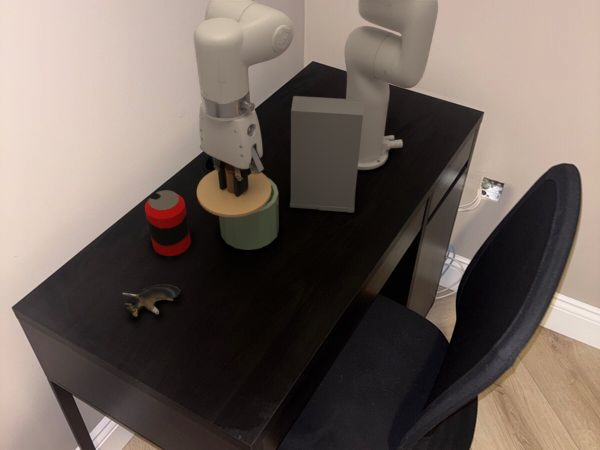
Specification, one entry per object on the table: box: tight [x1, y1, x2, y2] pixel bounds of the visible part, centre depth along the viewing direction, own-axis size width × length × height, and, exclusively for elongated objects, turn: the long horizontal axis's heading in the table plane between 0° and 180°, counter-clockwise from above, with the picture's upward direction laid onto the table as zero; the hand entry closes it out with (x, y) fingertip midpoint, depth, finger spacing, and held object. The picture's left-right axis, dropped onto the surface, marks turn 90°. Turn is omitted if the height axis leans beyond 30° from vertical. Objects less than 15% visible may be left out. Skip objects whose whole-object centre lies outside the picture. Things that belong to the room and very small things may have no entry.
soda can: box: [144, 189, 192, 257], centre depth 119 cm, size 8×8×12 cm
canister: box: [218, 177, 280, 251], centre depth 122 cm, size 12×12×10 cm
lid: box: [196, 164, 271, 217], centre depth 106 cm, size 13×13×6 cm
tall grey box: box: [289, 95, 363, 213], centre depth 124 cm, size 14×6×25 cm, turn 85°
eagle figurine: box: [122, 284, 182, 318], centre depth 109 cm, size 8×7×9 cm
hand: (234, 188), depth 107 cm, fingers closed on lid, 2 cm apart
